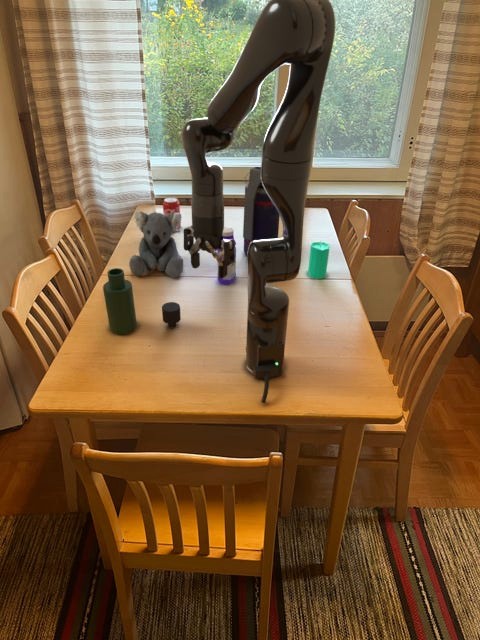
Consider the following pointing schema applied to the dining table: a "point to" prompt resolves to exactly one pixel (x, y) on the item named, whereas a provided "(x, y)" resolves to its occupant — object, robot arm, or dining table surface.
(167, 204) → the beverage can
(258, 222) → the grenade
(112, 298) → the green bottle
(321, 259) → the candle
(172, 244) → the koala plush
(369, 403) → the dining table surface
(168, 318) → the cylinder
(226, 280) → the bottle
